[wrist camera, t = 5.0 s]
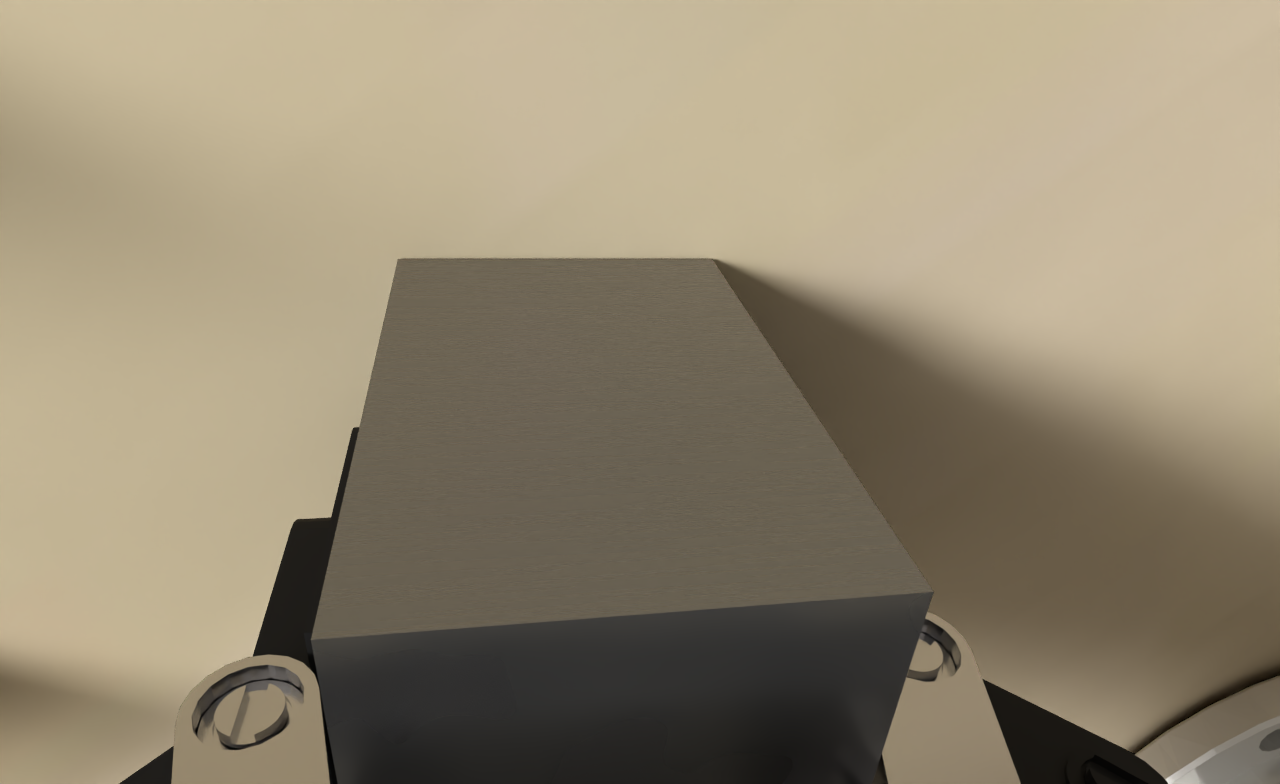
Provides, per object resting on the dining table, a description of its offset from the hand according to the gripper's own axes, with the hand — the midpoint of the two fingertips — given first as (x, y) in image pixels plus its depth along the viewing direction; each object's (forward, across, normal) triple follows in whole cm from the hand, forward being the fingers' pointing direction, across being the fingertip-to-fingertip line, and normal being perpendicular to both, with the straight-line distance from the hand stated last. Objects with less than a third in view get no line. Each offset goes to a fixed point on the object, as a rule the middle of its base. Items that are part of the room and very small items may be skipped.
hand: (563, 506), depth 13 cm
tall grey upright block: (+1, 0, 0) cm, 1 cm away
